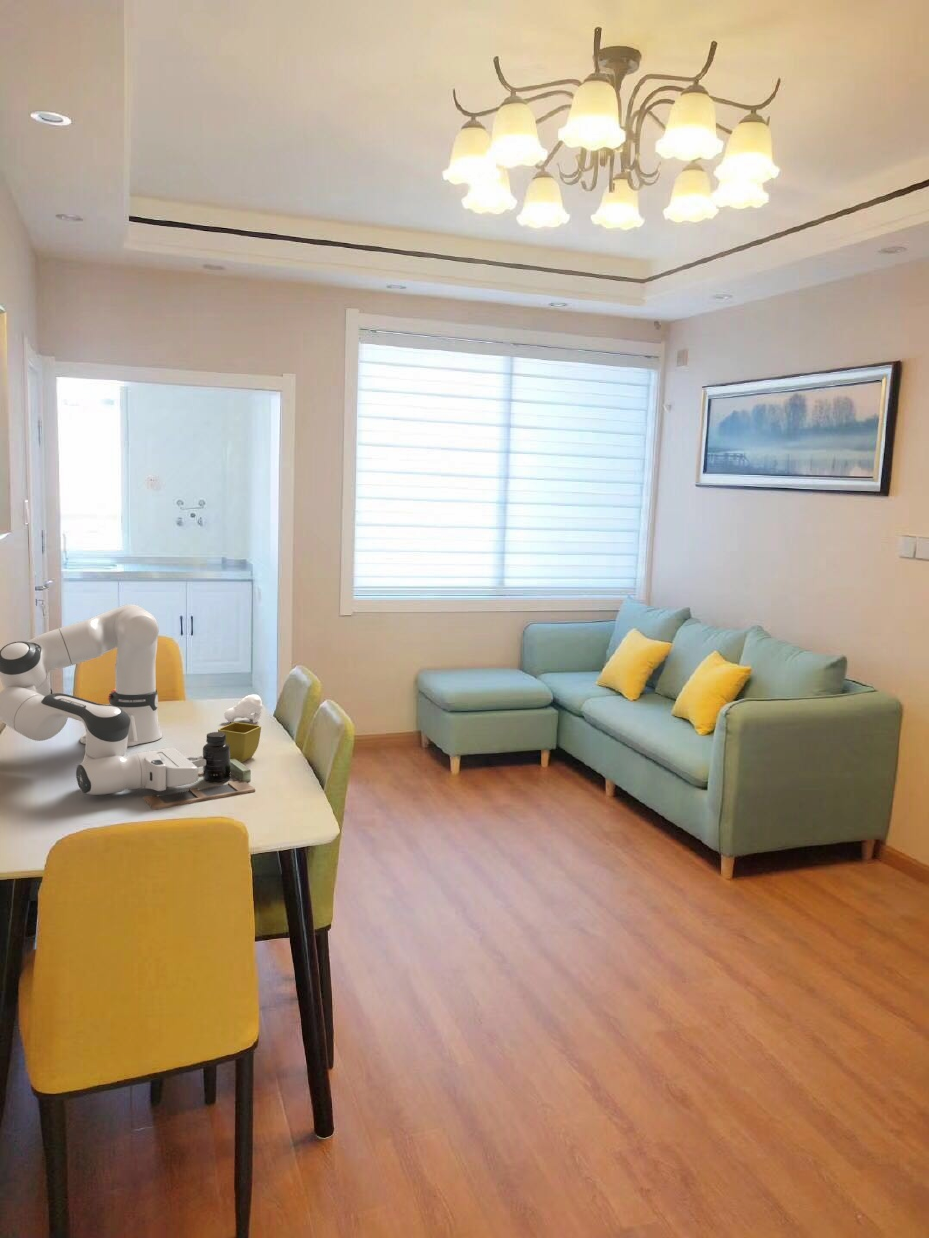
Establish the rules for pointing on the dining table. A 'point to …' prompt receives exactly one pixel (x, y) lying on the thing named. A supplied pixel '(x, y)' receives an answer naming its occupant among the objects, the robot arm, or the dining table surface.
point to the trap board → (207, 789)
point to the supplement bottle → (216, 758)
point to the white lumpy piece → (245, 709)
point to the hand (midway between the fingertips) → (204, 760)
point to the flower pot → (241, 739)
